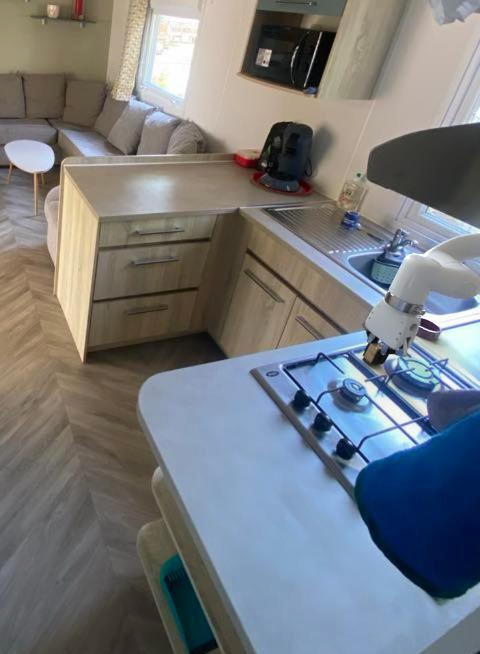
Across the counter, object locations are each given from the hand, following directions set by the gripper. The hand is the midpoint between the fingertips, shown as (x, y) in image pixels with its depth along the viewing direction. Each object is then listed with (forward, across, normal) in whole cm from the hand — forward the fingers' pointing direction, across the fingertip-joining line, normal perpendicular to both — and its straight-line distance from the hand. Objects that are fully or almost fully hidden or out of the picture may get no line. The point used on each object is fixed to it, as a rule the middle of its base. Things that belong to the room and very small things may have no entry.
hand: (372, 359), depth 111 cm
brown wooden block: (+1, 0, 0) cm, 1 cm away
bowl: (+1, +10, -31) cm, 32 cm away
